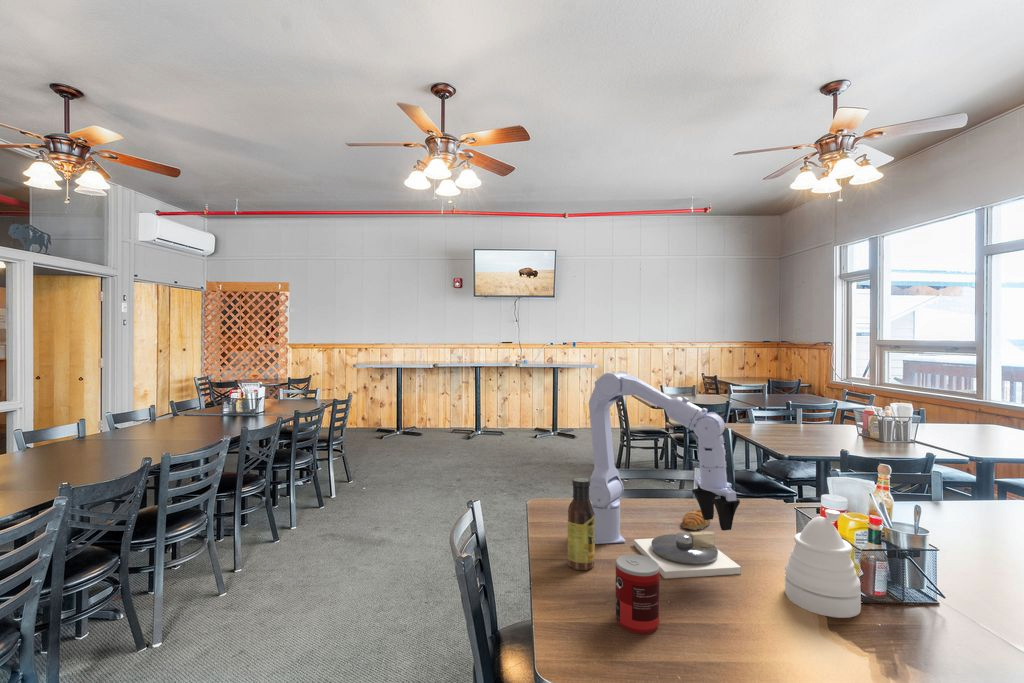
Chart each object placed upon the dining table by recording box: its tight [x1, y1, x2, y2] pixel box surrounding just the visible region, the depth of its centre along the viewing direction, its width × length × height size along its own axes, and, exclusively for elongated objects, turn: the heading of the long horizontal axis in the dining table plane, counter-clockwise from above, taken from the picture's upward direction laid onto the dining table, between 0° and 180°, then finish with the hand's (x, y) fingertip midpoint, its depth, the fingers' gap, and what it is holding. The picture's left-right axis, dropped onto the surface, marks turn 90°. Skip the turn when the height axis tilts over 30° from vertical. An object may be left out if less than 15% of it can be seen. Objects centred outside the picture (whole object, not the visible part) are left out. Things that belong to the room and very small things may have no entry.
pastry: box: [681, 509, 712, 531], centre depth 139 cm, size 9×7×4 cm
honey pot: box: [784, 508, 862, 619], centre depth 99 cm, size 13×13×18 cm
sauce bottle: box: [567, 477, 596, 571], centre depth 114 cm, size 7×6×20 cm
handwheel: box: [651, 530, 719, 565], centre depth 118 cm, size 15×15×4 cm
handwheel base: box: [633, 537, 742, 579], centre depth 118 cm, size 18×18×2 cm
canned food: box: [615, 553, 661, 635], centre depth 91 cm, size 8×8×11 cm
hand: (717, 524), depth 114 cm, fingers open, 7 cm apart
